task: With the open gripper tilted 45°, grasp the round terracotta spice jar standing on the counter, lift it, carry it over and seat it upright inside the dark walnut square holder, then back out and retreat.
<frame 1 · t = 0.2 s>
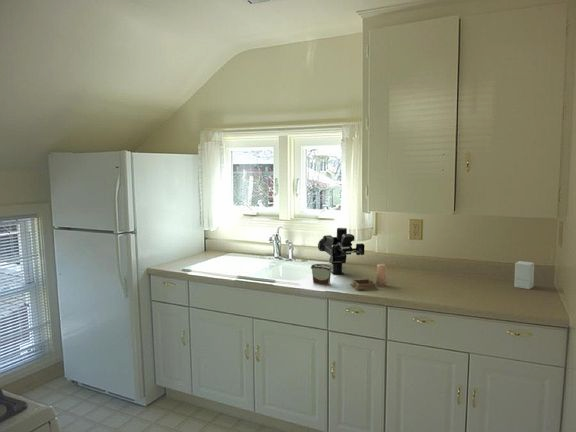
hand: (353, 253, 232), 17 cm above the worktop, tool horizontal, fingers open, 9 cm apart
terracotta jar: (381, 285, 232), on the worktop
walnut holder: (363, 287, 228), on the worktop
supplement box: (523, 287, 225), on the worktop
food container: (323, 283, 238), on the worktop
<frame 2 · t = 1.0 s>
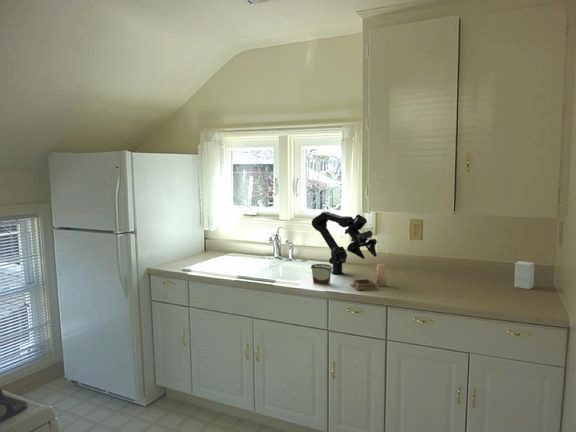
hand: (370, 257, 236), 14 cm above the worktop, tool tilted 45°, fingers open, 9 cm apart
nothing on the worktop moved.
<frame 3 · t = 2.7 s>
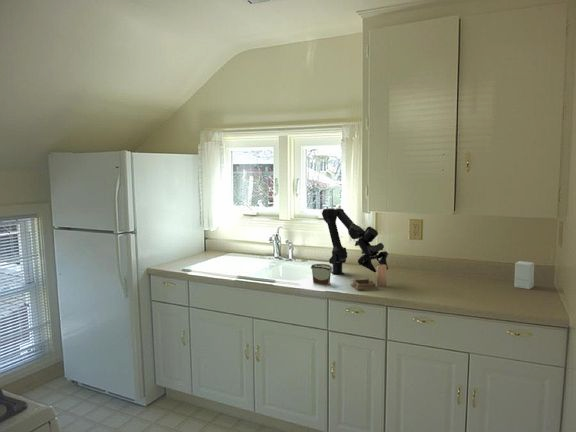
hand: (381, 270, 231), 8 cm above the worktop, tool tilted 45°, fingers open, 9 cm apart
nothing on the worktop moved.
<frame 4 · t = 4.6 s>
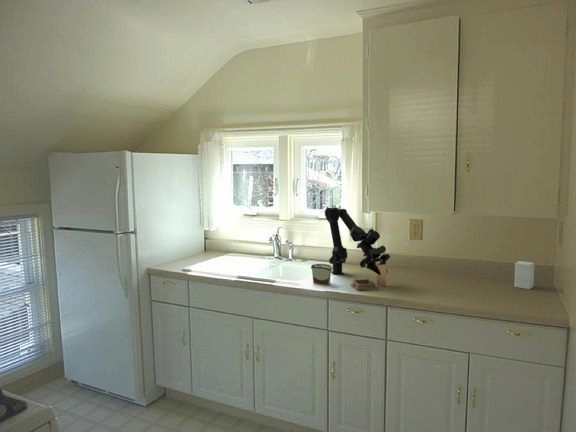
hand: (383, 273, 230), 7 cm above the worktop, tool tilted 45°, fingers closed on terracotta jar, 5 cm apart
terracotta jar: (381, 285, 232), on the worktop, touching gripper
everything else where it was.
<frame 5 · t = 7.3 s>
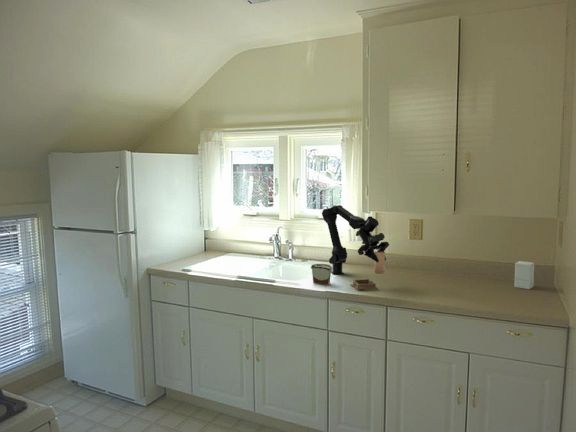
hand: (381, 261, 228), 13 cm above the worktop, tool tilted 45°, fingers closed on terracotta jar, 5 cm apart
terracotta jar: (379, 272, 230), point 7 cm above the worktop, touching gripper
everything else where it was.
when the fingers open (9 cm above the worktop, at t = 9.8 s): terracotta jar drops 1 cm, resting on walnut holder.
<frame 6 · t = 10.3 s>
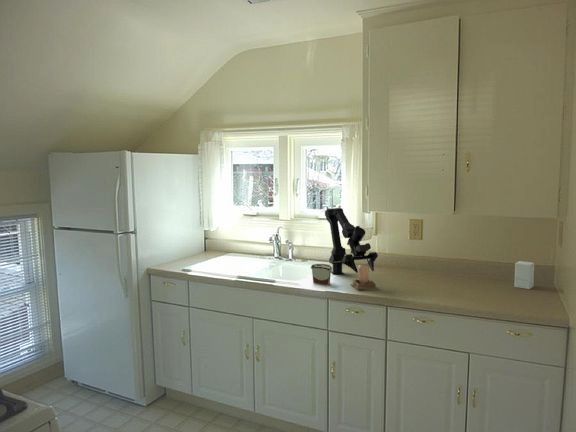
hand: (365, 271, 226), 9 cm above the worktop, tool tilted 45°, fingers open, 9 cm apart
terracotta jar: (363, 286, 228), point 1 cm above the worktop, touching walnut holder
everything else where it was.
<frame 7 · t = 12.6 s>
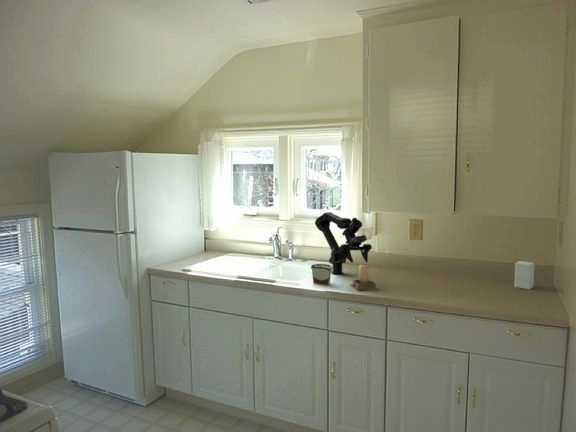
hand: (359, 262, 235), 12 cm above the worktop, tool tilted 40°, fingers open, 9 cm apart
nothing on the worktop moved.
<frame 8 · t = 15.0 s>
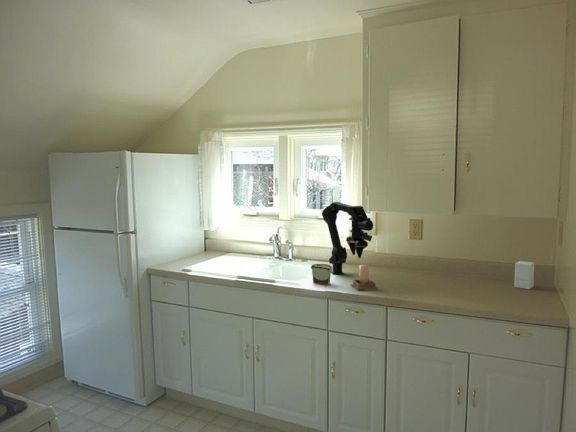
hand: (356, 256, 243), 13 cm above the worktop, tool pointing down, fingers open, 9 cm apart
nothing on the worktop moved.
at the end: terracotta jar 0.1 cm off-centre on the walnut holder, point 0.6 cm above the walnut holder's base; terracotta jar tilted 1°; the gripper is holding nothing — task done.
